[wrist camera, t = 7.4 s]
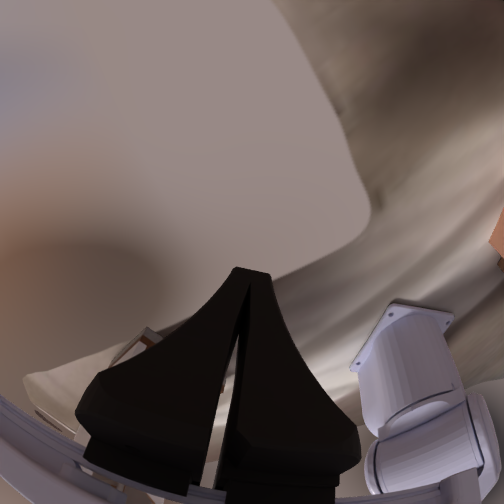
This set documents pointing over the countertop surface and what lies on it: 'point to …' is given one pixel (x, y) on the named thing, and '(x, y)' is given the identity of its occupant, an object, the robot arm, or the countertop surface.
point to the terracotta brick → (498, 236)
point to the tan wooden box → (501, 264)
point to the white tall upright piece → (136, 499)
